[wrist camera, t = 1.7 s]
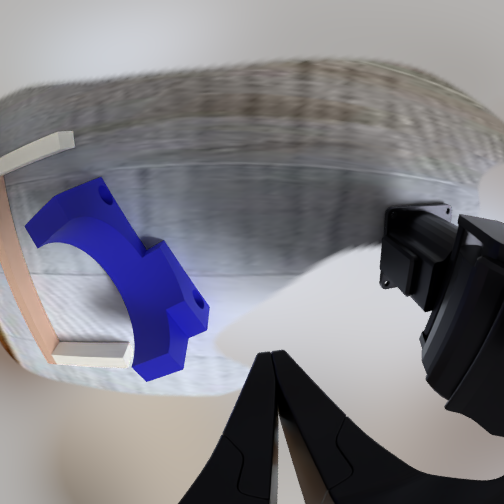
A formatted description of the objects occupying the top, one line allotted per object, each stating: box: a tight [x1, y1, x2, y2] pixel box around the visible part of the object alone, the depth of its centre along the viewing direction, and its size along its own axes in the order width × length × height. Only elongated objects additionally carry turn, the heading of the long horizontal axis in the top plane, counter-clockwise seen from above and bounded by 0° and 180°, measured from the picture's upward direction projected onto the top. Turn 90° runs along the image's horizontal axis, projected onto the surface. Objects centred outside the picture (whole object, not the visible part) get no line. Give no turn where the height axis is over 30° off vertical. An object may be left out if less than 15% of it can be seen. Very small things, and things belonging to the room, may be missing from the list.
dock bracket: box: [0, 131, 134, 368], centre depth 18 cm, size 9×18×2 cm, turn 5°
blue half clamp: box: [25, 177, 210, 382], centre depth 16 cm, size 12×4×6 cm, turn 27°
